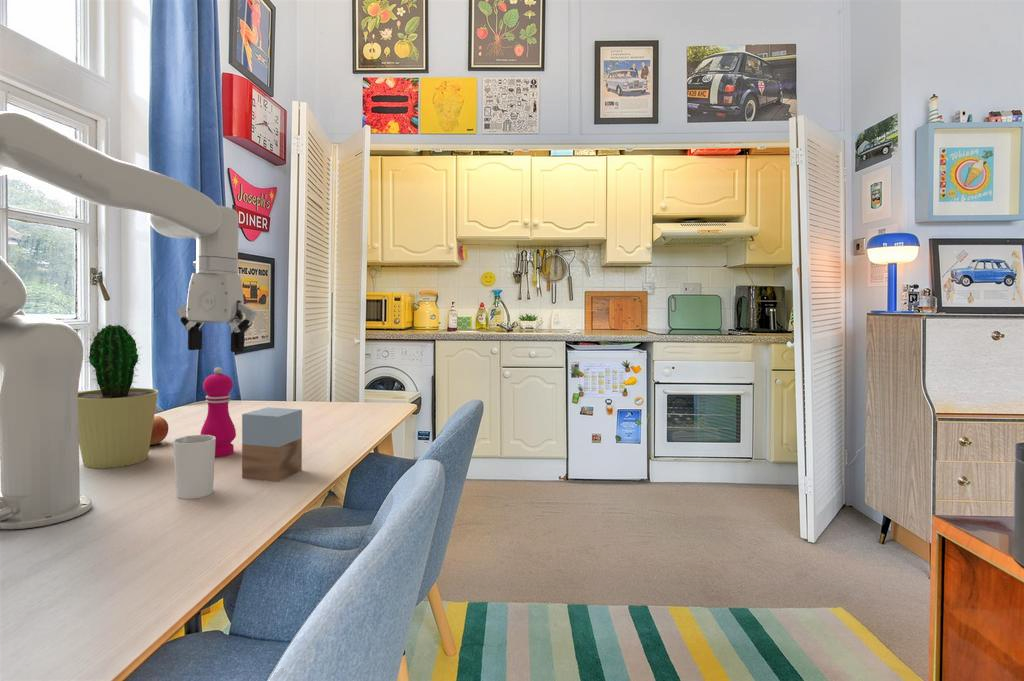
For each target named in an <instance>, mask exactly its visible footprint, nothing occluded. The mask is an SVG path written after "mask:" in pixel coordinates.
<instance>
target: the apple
mask: <svg viewBox="0 0 1024 681" xmlns="http://www.w3.org/2000/svg"><path fill="white" fill-rule="evenodd" d="M168 433H169V424H168V422H167V420H166V419H165V418H164V417H162V416H159V415H157V416H155V415H154V421H153V427H152V433H151V440H150V446H151V445H157V444H159V443H162V442H163V441H164V440H165V439H166V437H167V436H168Z"/></svg>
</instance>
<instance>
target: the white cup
mask: <svg viewBox="0 0 1024 681" xmlns="http://www.w3.org/2000/svg"><path fill="white" fill-rule="evenodd" d="M215 441H216V437H215V436H211V435H200V434H195V435H186V436H180V437H177V438H175V439H173V440H172V446H173V460H174V477H175V478H174V479H175V494H176V495H175V496H176V497H177V498H178V499H183V500H190V499H191V500H192V499H193V500H194V499H199V498H204V497H208V496H210V495H212V494H213V492H214V481H215V478H214V477H215V460H216V459H215V458H216V457H215Z"/></svg>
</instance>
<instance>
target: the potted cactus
mask: <svg viewBox="0 0 1024 681" xmlns="http://www.w3.org/2000/svg"><path fill="white" fill-rule="evenodd" d="M101 324H102V325H104V324H103V323H101ZM114 324H115V325H112V324H108V325H105V326H102V327H101V329H98V328H96V329H97V330H98V331H97V333H96V335H95V332H92V336H93V337H92V336H91V339H90V338H88V337H87V338H86V339H87V340H88V341H90V342H91V343H90V345H88V346H87V348H89V349H87V352H88V357H85V360H86V359H87V360H86V361H85V363H87V364H88V363H89V365H87V366H86V368H87V367H89V366H90V367H91V366H92V367H93V368H94V369H93V371H91V374H93V373H94V375H95V378H93V379H91V381H94V382H93V383H97V384H98V385H96V387H97V386H99V387H98V389H92V390H85V391H80V392H79V391H78V420H79V451H80V455H81V460H82V464H83V466H84V467H86V468H89V467H90V468H91V469H111V468H110V467H113V468H120V467H119V466H121V467H126V466H125V465H127V466H131V465H130V464H132V465H135V463H136V464H138V463H141V462H144V461H147V459H148V456H149V452H150V446H151V445H150V440H151V433H152V427H153V421H154V416H155V413H156V408H157V401H158V393H159V390H158V389H155V388H149V387H147V388H145V387H144V388H143V387H133V386H132V384H133V383H134V382H135V383H138V382H137V381H135V380H134V377H138V376H140V375H138V374H135V371H139V369H138V368H137V367H136V365H137V364H138V365H141V364H140V359H139V356H141V354H139V351H138V350H139V349H142V347H141V346H138V347H137V344H139V342H136V339H135V338H133V336H132V335H134V334H135V333H136V332H133V329H131V331H130V329H128V327H127V326H128V324H126V325H124V324H123V325H120V324H119V323H117V324H116V323H114ZM132 332H133V333H132ZM140 347H141V348H140Z"/></svg>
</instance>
